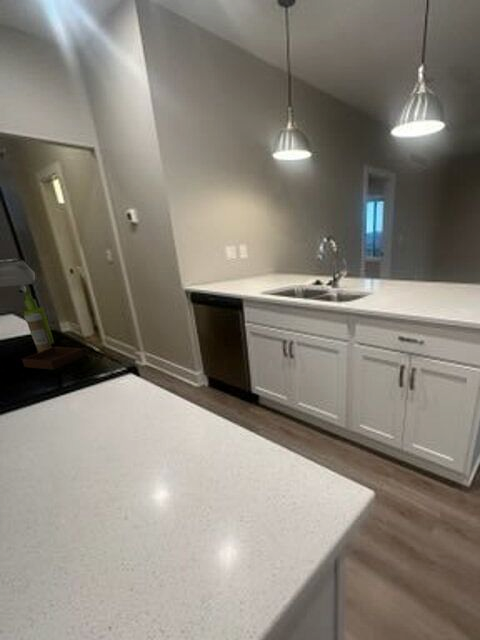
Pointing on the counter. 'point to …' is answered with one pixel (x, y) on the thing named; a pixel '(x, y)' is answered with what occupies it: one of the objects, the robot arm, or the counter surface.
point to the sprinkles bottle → (38, 331)
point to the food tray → (53, 358)
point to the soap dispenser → (33, 309)
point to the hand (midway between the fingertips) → (4, 292)
